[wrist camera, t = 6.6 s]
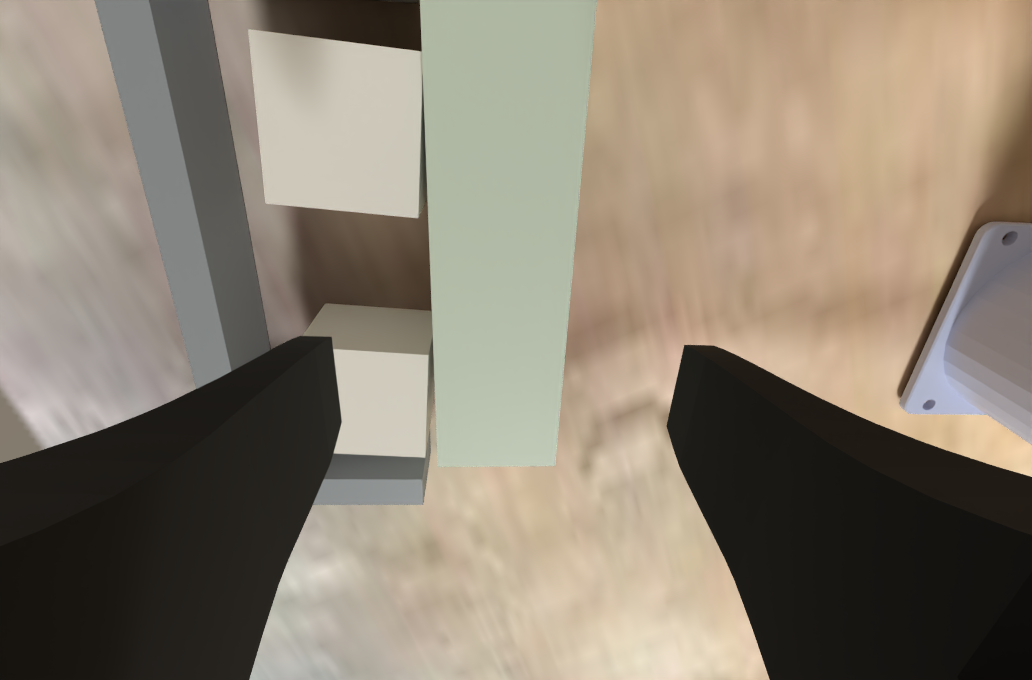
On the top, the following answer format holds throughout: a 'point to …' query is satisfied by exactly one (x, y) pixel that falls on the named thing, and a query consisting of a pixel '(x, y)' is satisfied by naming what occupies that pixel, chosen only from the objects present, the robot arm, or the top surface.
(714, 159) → the top surface
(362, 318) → the block
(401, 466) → the grey frame
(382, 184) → the block
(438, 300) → the sage green beam
